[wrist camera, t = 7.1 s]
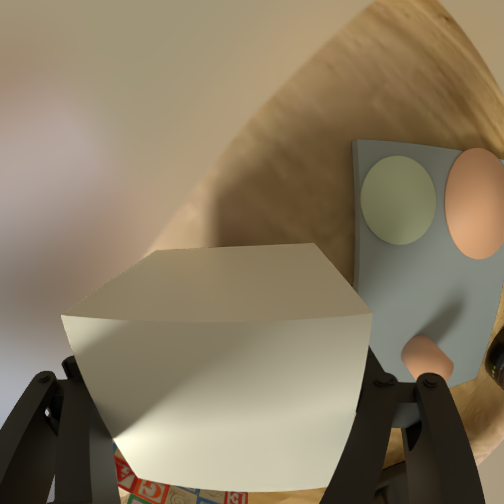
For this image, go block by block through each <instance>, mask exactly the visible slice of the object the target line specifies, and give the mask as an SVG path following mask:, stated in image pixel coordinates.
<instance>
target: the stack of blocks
mask: <svg viewBox="0 0 504 504" xmlns="http://www.w3.org/2000/svg"><path fill="white" fill-rule="evenodd" d="M112 441H113V451H114V461H115V469H116V476H117V483H118V489H119V495H120V500H121V504H248V492H236V491H218V490H207V489H198V488H190V487H182V486H176V485H170V484H164V483H159V482H154V481H150V480H145V479H141V478H138V477H137V476H136V474H135V473H134V472H133V470H132V469H131V467H130V466H129V464H128V462H127V461H126V459H125V458H124V456H123V455H122V453H121V451H120V450H119V448H118V446H117V445H116V443H115V441H114V440H113V438H112Z"/></svg>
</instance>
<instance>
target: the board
mask: <svg viewBox="0 0 504 504" xmlns="http://www.w3.org/2000/svg"><path fill="white" fill-rule="evenodd" d="M352 156H353V173H354V202H355V248H354V277H353V289H354V290H355V291H356V293H357V294H358V295H359V296H360V298H361V299H362V300H363V301H364V302H365V304H366V305H367V306H368V307H369V309H370V310H371V311H372V312H373V318H372V325H371V333H370V340H369V346H370V348H371V349H372V352H373V353H374V354H375V357H376V358H377V359H378V361H379V363H380V364H381V366H382V368H383V369H384V371H385V372H387V373H391V374H392V375H394V376H395V377H396V378H397V379H398V382H416V380H417V378H418V376H419V375H421V374H423V373H427V372H430V373H436V374H439V375H440V376H442V377H443V378H444V380H445V381H446V384H447V386H448V388H451V387H454V386H457V385H459V384H462V383H465V382H468V381H470V380H473V379H476V376H477V374H478V371H479V369H480V366H481V363H482V361H483V358H484V355H485V352H486V349H487V346H488V343H489V340H490V336H491V333H492V330H493V326H494V322H495V319H496V315H497V311H498V307H499V302H500V298H501V293H502V288H503V282H504V160H502V159H498V158H497V157H496V156H495V155H494V154H493V153H491V152H490V151H488V150H486V149H483V148H471V149H468V150H466V151H460V150H454V149H448V148H442V147H435V146H428V145H421V144H413V143H404V142H394V141H382V140H368V139H356V140H354V141H352Z"/></svg>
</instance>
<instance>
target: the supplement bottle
mask: <svg viewBox="0 0 504 504" xmlns="http://www.w3.org/2000/svg"><path fill="white" fill-rule="evenodd" d="M485 369H486V372H487V373H488V374H489V375H490V376H491V378H492V379H493V380H494V381H495V382H496V383H497V384H498V385H499V386H500V387H501V388H502V389H503V390H504V329H503V330H502V331H501V332H500V333H499V334H498V335H497V337H496V338H495V339H494V341H493V343H492V344H491V346H490V348H489V350H488V353H487V356H486V360H485Z"/></svg>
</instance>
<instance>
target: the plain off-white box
mask: <svg viewBox="0 0 504 504" xmlns="http://www.w3.org/2000/svg"><path fill="white" fill-rule="evenodd" d="M61 318H62V321H63V324H64V327H65V331H66V333H67V337H68V340H69V343H70V346H71V348H72V351H73V354H74V357H75V359H76V362H77V364H78V367H79V370H80V372H81V374H82V377H83V379H84V382H85V384H86V386H87V388H88V391H89V393H90V395H91V397H92V399H93V401H94V404H95V406H96V408H97V410H98V412H99V414H100V416H101V418H102V420H103V421H104V423H105V425H106V427H107V429H108V431H109V433H110V434H111V436H112V438H113V440H114V441H115V443H116V445H117V446H118V448H119V450H120V451H121V453H122V455H123V456H124V458H125V459H126V461H127V462H128V464H129V466H130V467H131V469H132V470H133V472H134V473H135V474H136V476H137V477H138V478H141V479H145V480H150V481H154V482H159V483H164V484H170V485H176V486H182V487H190V488H198V489H207V490H218V491H236V492H277V491H294V490H306V489H315V488H323V487H328V485H329V482H330V480H331V478H332V476H333V474H334V471H335V469H336V467H337V464H338V462H339V460H340V457H341V455H342V452H343V450H344V447H345V444H346V442H347V439H348V436H349V434H350V431H351V427H352V423H353V420H354V416H355V411H356V407H357V403H358V399H359V394H360V390H361V385H362V380H363V375H364V370H365V364H366V358H367V352H368V346H369V340H370V333H371V325H372V318H373V312H372V311H371V310H370V309H369V307H368V306H367V305H366V304H365V302H364V301H363V300H362V299H361V298H360V296H359V295H358V294H357V293H356V291H355V290H354V289H353V288H352V287H351V285H350V284H349V283H348V282H347V281H346V279H345V278H344V277H343V276H342V275H341V273H340V272H339V271H338V270H337V269H336V268H335V266H334V265H333V264H332V263H331V262H330V261H329V259H328V258H327V257H326V256H325V255H324V254H323V253H322V251H321V250H320V249H319V248H318V247H317V246H316V245H315V243H302V244H279V245H257V246H236V247H215V248H194V249H174V250H156V251H155V252H153V253H152V254H150V255H148V256H147V257H145V258H144V259H142V260H141V261H139V262H138V263H136V264H134V265H133V266H131V267H130V268H128V269H127V270H125V271H124V272H122V273H121V274H119V275H118V276H116V277H115V278H113V279H112V280H110V281H109V282H107V283H106V284H104V285H103V286H101V287H100V288H98V289H97V290H96V291H94V292H93V293H91V294H90V295H88V296H87V297H86V298H84V299H83V300H81V301H80V302H78V303H77V304H76V305H74V306H73V307H71V308H70V309H69V310H67V311H66V312H65V313H63V314H62V315H61Z"/></svg>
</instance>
